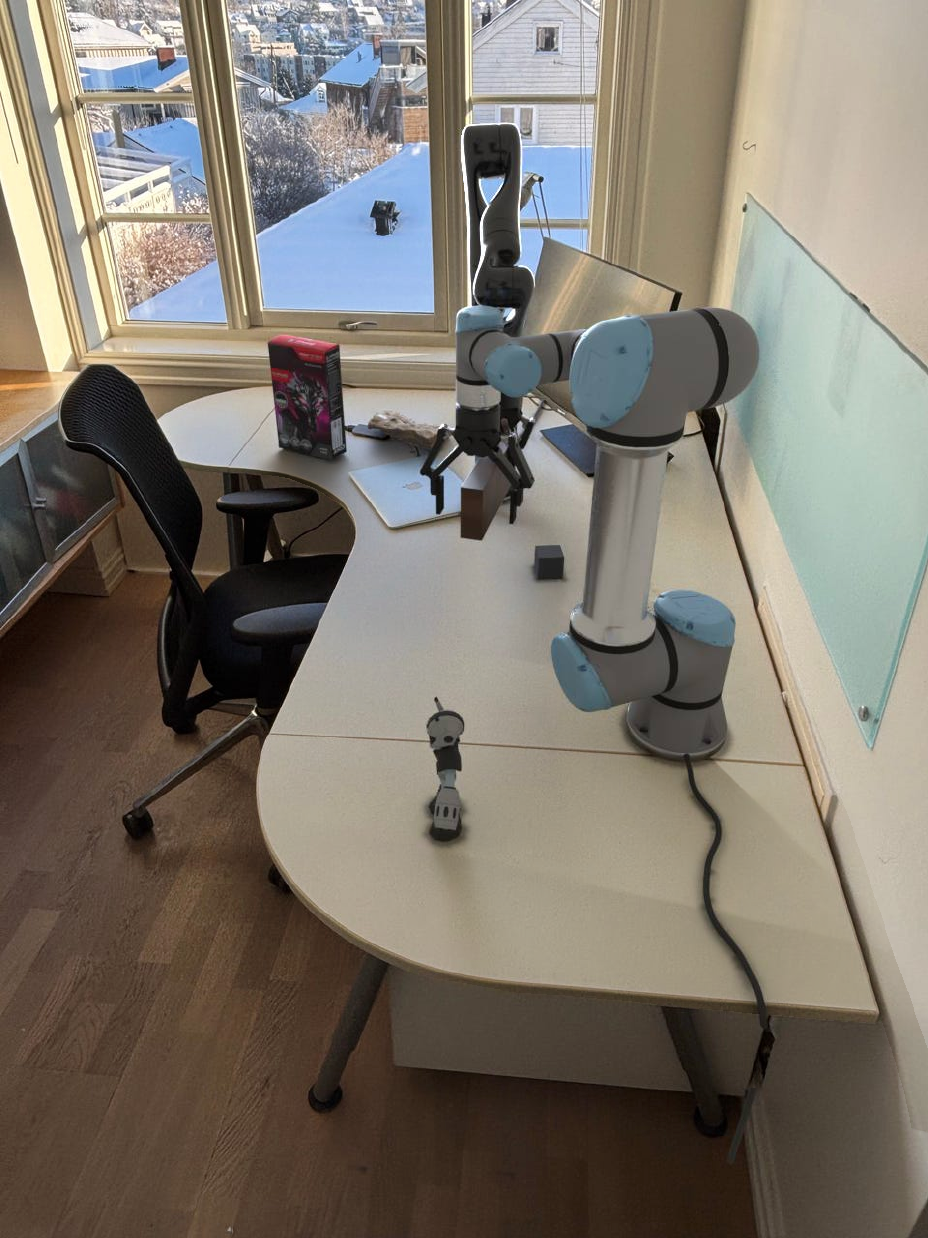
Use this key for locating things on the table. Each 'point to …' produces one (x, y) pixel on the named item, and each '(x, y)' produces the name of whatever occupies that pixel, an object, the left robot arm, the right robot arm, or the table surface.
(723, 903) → the table surface
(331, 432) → the graphics card box
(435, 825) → the robot
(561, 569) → the grey block
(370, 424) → the stone
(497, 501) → the beam
